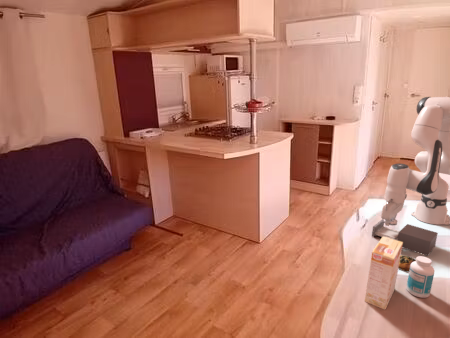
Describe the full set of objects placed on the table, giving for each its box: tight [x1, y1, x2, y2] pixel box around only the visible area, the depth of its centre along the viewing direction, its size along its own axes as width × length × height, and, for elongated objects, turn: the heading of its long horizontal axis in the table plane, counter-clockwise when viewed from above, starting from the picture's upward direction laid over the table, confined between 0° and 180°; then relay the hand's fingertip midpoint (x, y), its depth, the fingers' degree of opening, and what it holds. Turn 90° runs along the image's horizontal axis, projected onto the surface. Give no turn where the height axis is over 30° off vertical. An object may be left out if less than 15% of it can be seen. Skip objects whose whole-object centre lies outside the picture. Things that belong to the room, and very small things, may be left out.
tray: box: [371, 218, 400, 240], centre depth 155 cm, size 13×13×6 cm
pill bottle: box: [406, 255, 435, 299], centre depth 112 cm, size 8×7×14 cm
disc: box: [383, 218, 398, 226], centre depth 154 cm, size 6×6×2 cm
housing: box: [397, 223, 439, 257], centre depth 147 cm, size 13×13×7 cm
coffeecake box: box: [364, 237, 403, 310], centre depth 109 cm, size 15×7×20 cm, turn 141°
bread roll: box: [398, 254, 416, 273], centre depth 131 cm, size 11×11×5 cm
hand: (390, 223), depth 154 cm, fingers closed on disc, 6 cm apart
